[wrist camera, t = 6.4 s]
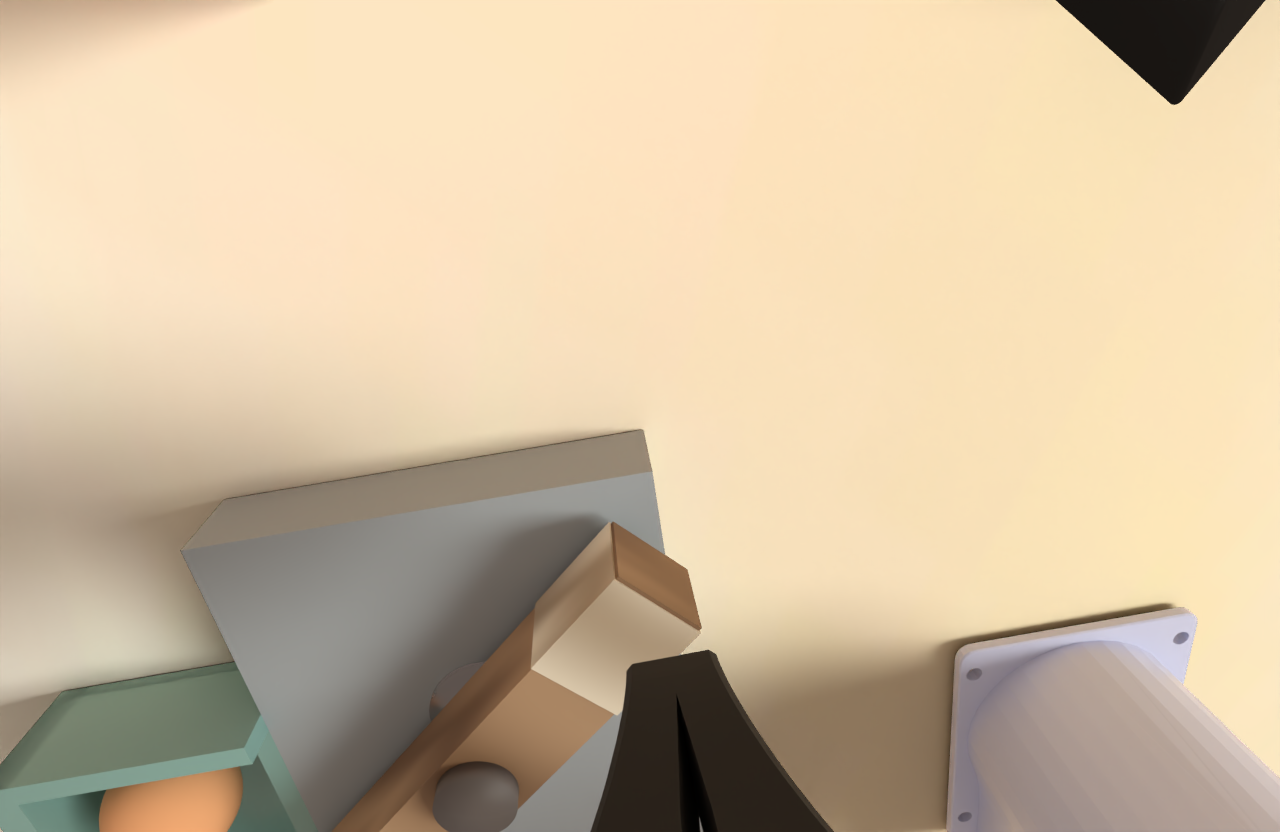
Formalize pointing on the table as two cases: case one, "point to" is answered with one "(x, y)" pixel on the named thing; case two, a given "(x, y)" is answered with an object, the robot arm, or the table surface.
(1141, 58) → the black blocky device
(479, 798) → the lever
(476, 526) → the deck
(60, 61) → the table surface
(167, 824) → the ball
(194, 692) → the teal dish
